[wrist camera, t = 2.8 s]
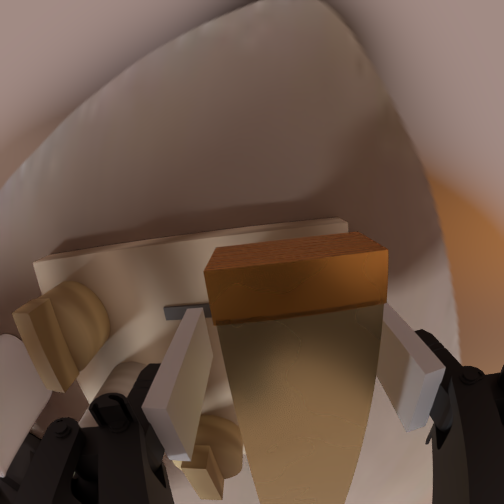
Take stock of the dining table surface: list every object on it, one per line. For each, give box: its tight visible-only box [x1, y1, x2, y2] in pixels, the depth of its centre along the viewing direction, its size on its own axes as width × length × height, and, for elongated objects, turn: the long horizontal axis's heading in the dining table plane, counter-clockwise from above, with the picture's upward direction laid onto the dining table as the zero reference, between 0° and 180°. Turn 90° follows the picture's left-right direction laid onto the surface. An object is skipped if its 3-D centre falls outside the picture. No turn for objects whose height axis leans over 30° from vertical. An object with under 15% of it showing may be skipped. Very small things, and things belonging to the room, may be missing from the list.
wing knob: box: [203, 232, 388, 504], centre depth 10 cm, size 3×10×10 cm, turn 7°
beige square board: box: [12, 217, 348, 500], centre depth 14 cm, size 20×18×11 cm
